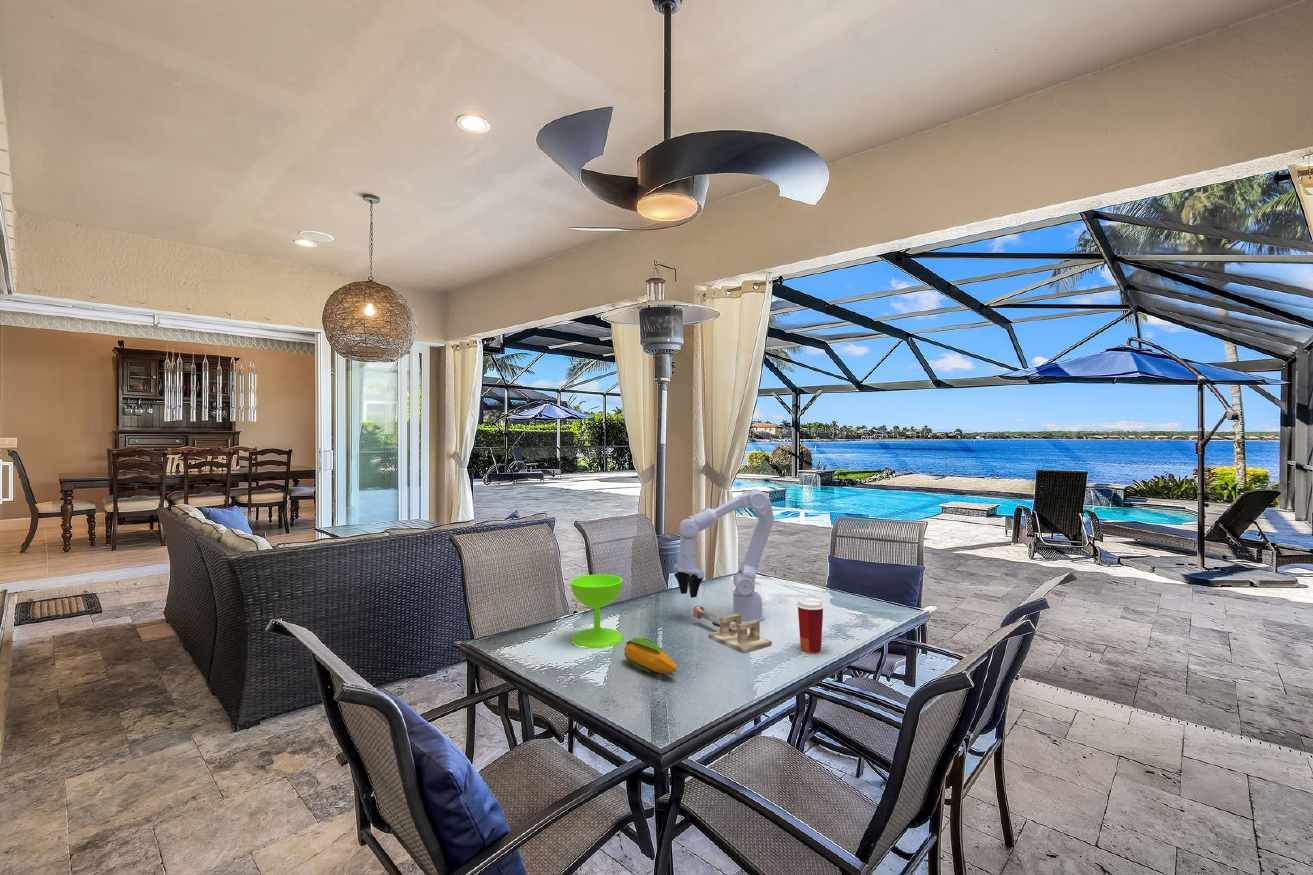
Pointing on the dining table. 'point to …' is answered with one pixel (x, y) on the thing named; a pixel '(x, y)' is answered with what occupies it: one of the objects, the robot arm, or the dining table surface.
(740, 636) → the bearing block
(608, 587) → the wineglass
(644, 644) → the corn
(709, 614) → the shaft
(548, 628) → the dining table surface
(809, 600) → the paper cup
